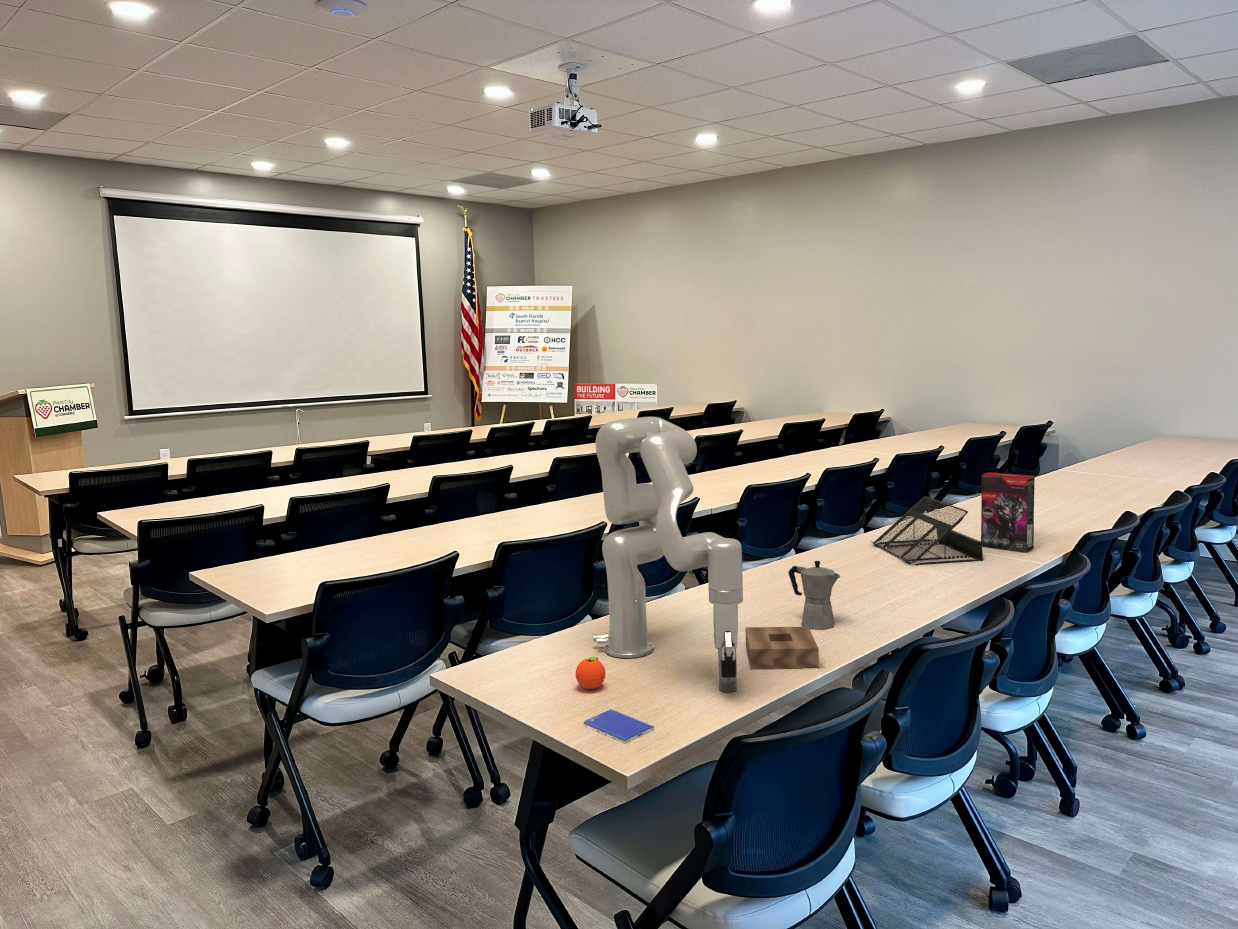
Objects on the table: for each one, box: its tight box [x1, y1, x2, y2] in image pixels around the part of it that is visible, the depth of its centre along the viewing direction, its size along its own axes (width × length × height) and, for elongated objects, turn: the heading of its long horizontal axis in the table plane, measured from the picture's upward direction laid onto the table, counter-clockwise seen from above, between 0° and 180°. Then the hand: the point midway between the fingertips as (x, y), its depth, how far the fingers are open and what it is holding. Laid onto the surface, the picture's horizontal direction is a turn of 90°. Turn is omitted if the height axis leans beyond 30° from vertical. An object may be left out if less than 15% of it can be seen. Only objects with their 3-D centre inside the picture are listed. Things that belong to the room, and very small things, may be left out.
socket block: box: [744, 626, 820, 670], centre depth 206 cm, size 16×16×5 cm
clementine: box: [574, 656, 607, 690], centre depth 192 cm, size 8×7×7 cm
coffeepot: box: [788, 560, 841, 631], centre depth 229 cm, size 15×9×18 cm, turn 49°
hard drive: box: [583, 709, 655, 745], centre depth 171 cm, size 2×8×12 cm
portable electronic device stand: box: [870, 495, 984, 566], centre depth 303 cm, size 33×28×18 cm
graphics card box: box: [980, 472, 1036, 553], centre depth 303 cm, size 17×7×27 cm, turn 43°
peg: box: [717, 635, 738, 694], centre depth 187 cm, size 4×4×12 cm
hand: (727, 668), depth 187 cm, fingers open, 9 cm apart
